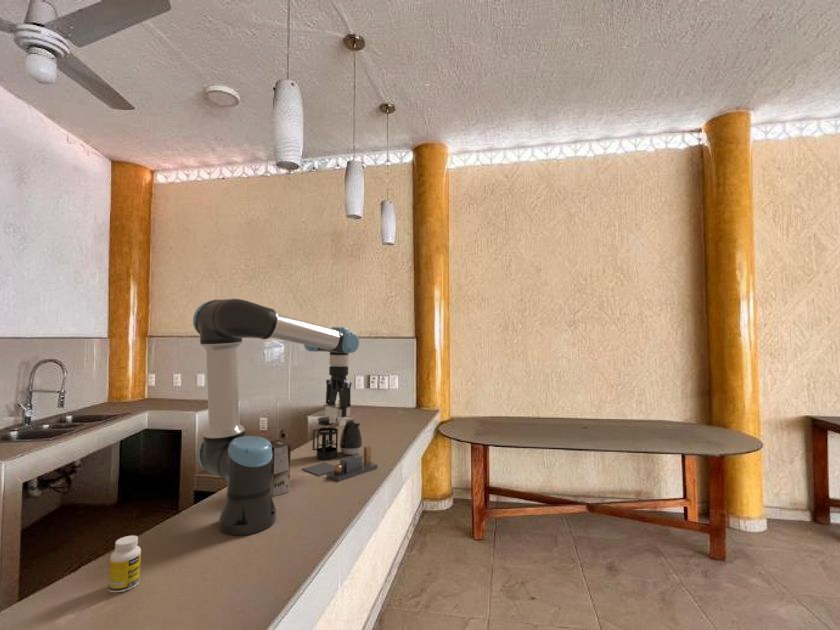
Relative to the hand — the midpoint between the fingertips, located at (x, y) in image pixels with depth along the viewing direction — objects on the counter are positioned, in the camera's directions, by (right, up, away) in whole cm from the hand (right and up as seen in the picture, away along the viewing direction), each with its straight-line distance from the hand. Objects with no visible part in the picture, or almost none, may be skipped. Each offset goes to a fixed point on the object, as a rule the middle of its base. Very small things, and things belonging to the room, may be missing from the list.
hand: (337, 423), depth 162 cm
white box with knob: (0, +3, 0) cm, 3 cm away
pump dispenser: (+1, -20, +23) cm, 31 cm away
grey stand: (+7, -19, -2) cm, 20 cm away
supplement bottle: (-31, -15, -75) cm, 82 cm away
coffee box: (-17, -18, -21) cm, 32 cm away
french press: (-9, -20, +17) cm, 27 cm away
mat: (-6, -19, +1) cm, 20 cm away
